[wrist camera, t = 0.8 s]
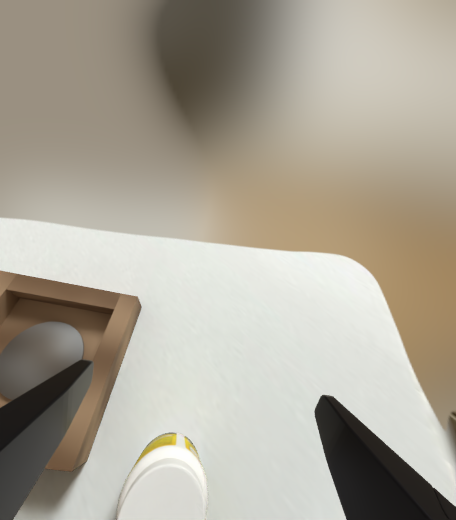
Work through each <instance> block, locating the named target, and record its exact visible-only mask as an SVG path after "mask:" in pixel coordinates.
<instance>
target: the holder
mask: <svg viewBox="0 0 456 520" xmlns="http://www.w3.org/2000/svg"><path fill="white" fill-rule="evenodd" d="M141 308H142V307H141V304H140V302H139V299H138V297H136V296H131V295H126V294H120V293H115V292H110V291H104V290H99V289H94V288H89V287H83V286H78V285H73V284H68V283H62V282H57V281H52V280H47V279H41V278H36V277H31V276H25V275H20V274H15V273H10V272H4V271H0V407H2V406H4V405H5V404H7V403H9V402H10V401H12V400H14V399H15V398H17V397H19V396H20V395H22V394H24V393H25V392H27V391H29V390H30V389H32V388H34V387H35V386H37V385H39V384H40V383H42V382H44V381H45V380H47V379H49V378H50V377H52V376H54V375H55V374H57V373H59V372H60V371H62V370H64V369H65V368H67V367H69V366H70V365H72V364H74V363H75V362H77V361H79V360H81V359H85V360H92V361H93V363H94V367H93V376H92V382H91V384H90V387H89V389H88V391H87V393H86V395H85V397H84V399H83V401H82V403H81V405H80V407H79V409H78V411H77V413H76V415H75V417H74V419H73V421H72V423H71V425H70V427H69V428H68V430H67V432H66V434H65V436H64V438H63V439H62V441H61V443H60V444H59V446H58V447H57V449H56V451H55V452H54V454H53V456H52V457H51V459H50V460H49V462H48V464H47V465H46V467H45V468H44V469H52V470H61V471H70V472H72V471H73V470H75V469H76V468H78V467H79V466H80V465H82V464H83V463H85V462H86V461H87V459H88V456H89V454H90V451H91V448H92V445H93V442H94V439H95V437H96V434H97V431H98V428H99V425H100V423H101V420H102V417H103V414H104V411H105V409H106V406H107V403H108V400H109V397H110V395H111V392H112V389H113V386H114V383H115V381H116V378H117V375H118V372H119V369H120V367H121V364H122V361H123V358H124V355H125V353H126V350H127V347H128V344H129V341H130V338H131V336H132V333H133V330H134V327H135V324H136V322H137V319H138V316H139V313H140V310H141Z"/></svg>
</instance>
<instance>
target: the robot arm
mask: <svg viewBox="0 0 456 520" xmlns="http://www.w3.org/2000/svg"><path fill="white" fill-rule="evenodd" d="M93 367H94V363H93V361H92V360H85V359H81V360H79V361H77V362H75V363H74V364H72V365H70V366H69V367H67V368H65V369H64V370H62V371H60V372H59V373H57V374H55V375H54V376H52V377H50V378H49V379H47V380H45V381H44V382H42V383H40V384H39V385H37V386H35V387H34V388H32V389H30V390H29V391H27V392H25V393H24V394H22V395H20V396H19V397H17V398H15V399H14V400H12V401H10V402H9V403H7V404H5V405H4V406H2V407H0V520H13V519H14V517H15V515H16V514H17V512H18V510H19V509H20V507H21V506H22V504H23V502H24V501H25V499H26V498H27V496H28V494H29V493H30V491H31V489H32V488H33V486H34V485H35V483H36V481H37V480H38V478H39V477H40V475H41V473H42V472H43V470H44V468H45V467H46V465H47V464H48V462H49V460H50V459H51V457H52V456H53V454H54V452H55V451H56V449H57V447H58V446H59V444H60V443H61V441H62V439H63V438H64V436H65V434H66V432H67V430H68V428H69V427H70V425H71V423H72V421H73V419H74V417H75V415H76V413H77V411H78V409H79V407H80V405H81V403H82V401H83V399H84V397H85V395H86V393H87V391H88V389H89V387H90V384H91V382H92V376H93ZM315 418H316V422H317V426H318V430H319V434H320V438H321V442H322V445H323V449H324V453H325V457H326V460H327V463H328V467H329V470H330V473H331V475H332V478H333V481H334V484H335V487H336V490H337V493H338V496H339V499H340V502H341V505H342V508H343V510H344V513H345V516H346V519H347V520H456V507H455V506H454V505H453V504H452V503H450V502H449V501H448V500H447V499H446V498H445V497H444V496H443V495H442V494H440V493H439V492H438V491H437V490H436V489H435V488H432V486H431V485H430V484H429V483H428V482H427V481H426V480H425V479H424V478H423V477H422V476H421V475H419V474H418V473H417V472H416V471H415V470H414V469H413V468H412V467H411V466H409V465H408V464H407V463H406V462H405V461H404V460H403V459H402V458H401V457H399V456H398V455H397V454H396V453H395V452H394V451H393V450H392V449H391V448H389V447H388V446H387V445H386V444H385V443H384V442H383V441H382V440H381V439H379V438H378V437H377V436H376V435H375V434H374V433H373V432H372V431H371V430H370V429H368V428H367V427H366V426H365V425H364V424H363V423H362V422H361V421H360V420H358V419H357V418H356V417H355V416H354V415H353V414H352V413H351V412H350V411H348V410H347V409H346V408H345V407H344V406H343V405H342V404H341V403H340V402H338V401H337V400H336V399H335V398H334V397H333V396H329V395H322V396H321V397H320V399H319V402H318V404H317V406H316V408H315Z"/></svg>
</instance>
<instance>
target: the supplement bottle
mask: <svg viewBox="0 0 456 520" xmlns="http://www.w3.org/2000/svg"><path fill="white" fill-rule="evenodd" d="M207 506H208V485H207V479H206V475H205V472H204V469H203V467H202V464H201V461H200V458H199V456H198V453H197V450H196V448H195V446H194V445H193V443H192V442H191V441H190V440H189V439H188V438H187V437H186V436H184V435H182V434H180V433H174V432H171V433H165V434H162V435H160V436H158V437H156V438H155V439H154V440H152V441H151V442H150V443H149V444H148V445H147V447H146V448H145V449H144V450H143V452H142V454H141V455H140V457H139V459H138V460H137V462H136V464H135V465H134V467H133V469H132V470H131V472H130V473H129V475H128V477H127V479H126V481H125V483H124V486H123V488H122V491H121V494H120V498H119V502H118V507H117V515H116V520H206V513H207Z"/></svg>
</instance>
